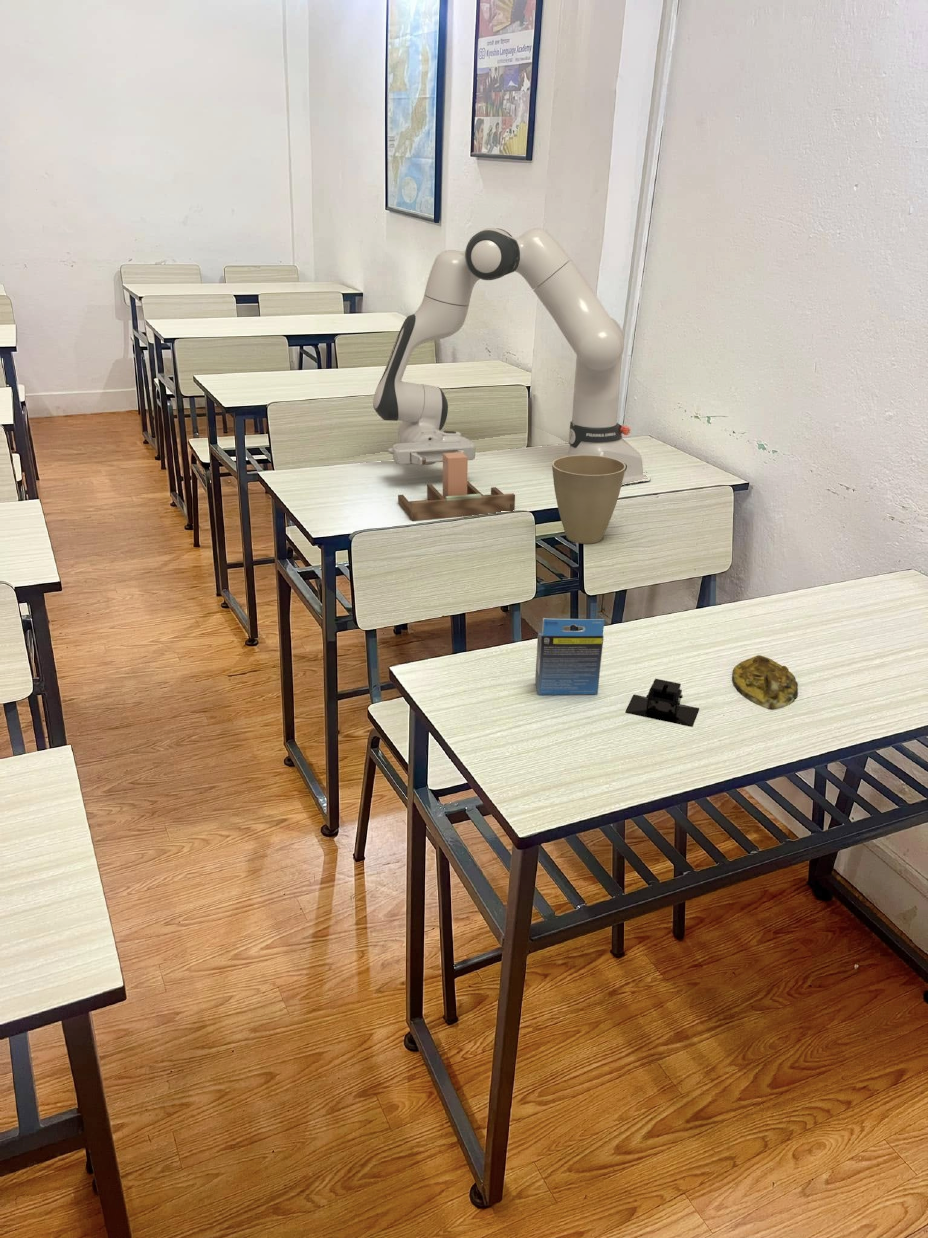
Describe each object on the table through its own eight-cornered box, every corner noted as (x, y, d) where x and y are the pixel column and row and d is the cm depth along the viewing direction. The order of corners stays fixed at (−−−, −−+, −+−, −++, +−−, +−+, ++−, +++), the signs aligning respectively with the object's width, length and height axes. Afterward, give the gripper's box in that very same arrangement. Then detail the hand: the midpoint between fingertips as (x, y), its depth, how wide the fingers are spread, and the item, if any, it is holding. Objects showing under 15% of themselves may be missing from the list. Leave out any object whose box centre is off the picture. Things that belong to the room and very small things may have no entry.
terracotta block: (461, 502, 209) (461, 452, 204) (466, 508, 205) (467, 457, 200) (442, 504, 208) (442, 453, 203) (448, 510, 204) (448, 458, 199)
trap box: (495, 495, 215) (496, 476, 213) (514, 511, 204) (515, 492, 202) (398, 503, 208) (397, 484, 206) (412, 521, 197) (411, 500, 195)
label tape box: (593, 682, 133) (600, 607, 127) (598, 696, 129) (605, 619, 124) (534, 682, 132) (538, 607, 127) (537, 696, 129) (542, 619, 123)
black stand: (612, 716, 125) (615, 687, 123) (625, 692, 131) (628, 664, 129) (702, 736, 121) (707, 707, 119) (711, 710, 127) (715, 682, 125)
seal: (725, 666, 141) (740, 715, 127) (725, 639, 139) (741, 685, 125) (786, 664, 139) (809, 713, 126) (788, 637, 137) (810, 683, 124)
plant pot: (558, 522, 197) (562, 451, 190) (625, 531, 193) (632, 458, 186) (539, 545, 185) (543, 469, 178) (610, 554, 180) (617, 477, 173)
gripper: (385, 435, 219) (399, 450, 207) (465, 431, 225) (483, 444, 213) (386, 461, 222) (399, 476, 210) (464, 455, 228) (482, 470, 216)
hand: (442, 460), depth 212 cm, fingers open, 8 cm apart
